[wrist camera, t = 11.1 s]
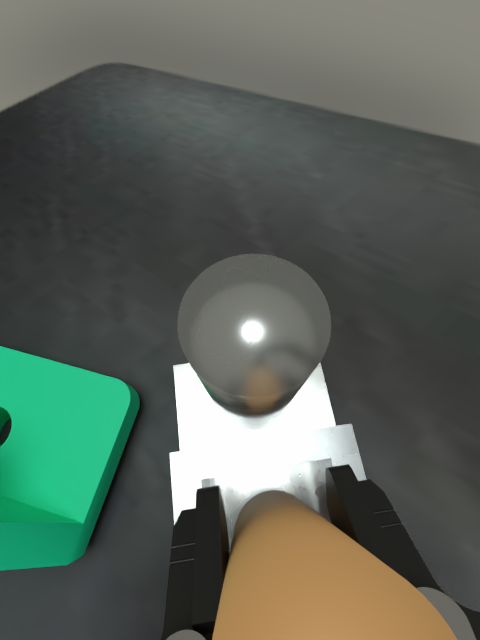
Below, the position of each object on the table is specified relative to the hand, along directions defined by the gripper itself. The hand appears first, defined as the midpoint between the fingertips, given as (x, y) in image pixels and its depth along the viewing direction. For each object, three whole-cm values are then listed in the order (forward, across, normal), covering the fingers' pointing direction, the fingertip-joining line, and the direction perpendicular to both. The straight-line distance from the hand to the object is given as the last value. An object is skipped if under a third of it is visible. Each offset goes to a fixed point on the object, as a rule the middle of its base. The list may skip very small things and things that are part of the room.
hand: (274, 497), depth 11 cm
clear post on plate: (+5, 0, +4) cm, 6 cm away
